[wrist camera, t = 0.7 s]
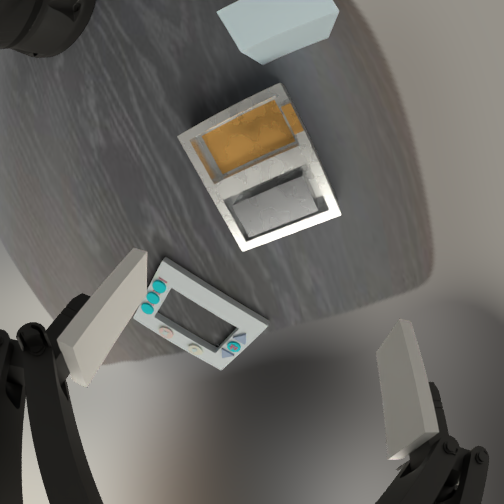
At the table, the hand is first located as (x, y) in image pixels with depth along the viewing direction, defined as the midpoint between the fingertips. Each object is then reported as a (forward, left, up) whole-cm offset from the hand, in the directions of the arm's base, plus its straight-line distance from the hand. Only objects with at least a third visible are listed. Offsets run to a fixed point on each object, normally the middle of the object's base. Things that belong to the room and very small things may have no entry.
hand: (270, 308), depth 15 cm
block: (-15, +7, -24) cm, 29 cm away
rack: (-3, -2, -24) cm, 24 cm away
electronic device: (+15, -23, -24) cm, 37 cm away
